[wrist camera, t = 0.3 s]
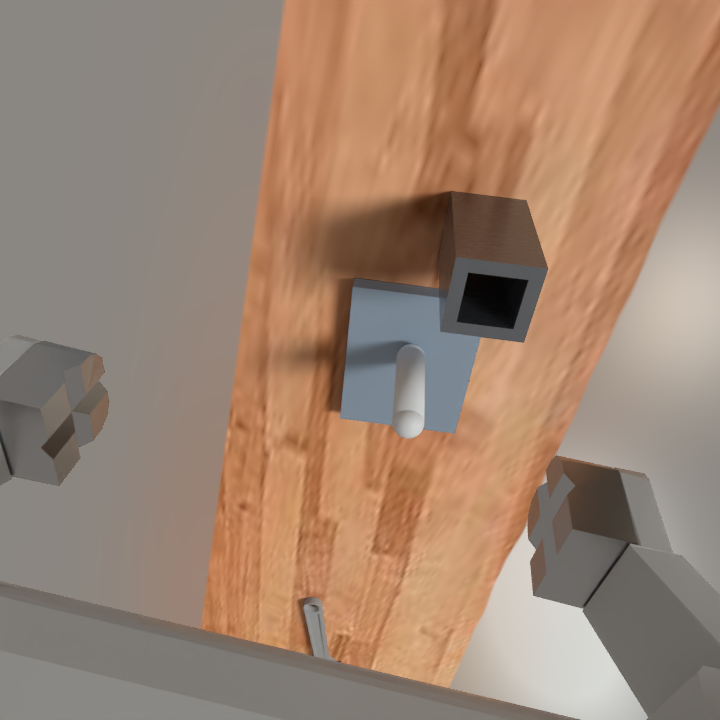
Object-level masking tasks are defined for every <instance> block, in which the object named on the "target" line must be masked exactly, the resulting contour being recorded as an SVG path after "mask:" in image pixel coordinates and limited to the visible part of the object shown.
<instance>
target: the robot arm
mask: <svg viewBox="0 0 720 720" xmlns="http://www.w3.org/2000/svg"><path fill="white" fill-rule="evenodd" d="M104 373H105V370H104V365H103V360H102V357H100V356H99V355H97V354H95V353H91V352H87V351H83V350H79V349H75V348H71V347H67V346H63V345H59V344H55V343H51V342H47V341H40V340H36V339H32V338H28V337H24V336H20V335H15V336H11V337H8V338H7V339H5V340H4V341H3V342H2V343H1V344H0V485H2V484H4V483H5V482H7V481H9V480H11V479H12V477H11V476H13V477H18V478H23V479H28V480H32V481H37V482H42V483H47V484H52V485H57V486H60V484H61V483H62V482H63V480H64V479H65V478H66V477H67V475H68V474H69V473H70V471H71V470H72V468H73V467H74V466H75V465H76V463H77V462H78V461H79V459H80V453H79V447H81V446H83V445H85V444H87V443H89V442H91V441H93V440H94V439H95V438H96V436H97V435H98V434H99V432H100V431H101V430H102V427H103V425H104V422H105V420H106V417H107V415H108V407H109V398H108V391H107V390H106V389H105V387H104V386H103V385H102V384H101V383H100V382H99V379H100V377H101V376H102V375H103V374H104ZM546 475H547V483H545V484H543V485H541V486H539V487H537V490H536V492H535V494H534V496H533V498H532V501H531V505H530V509H529V514H528V539H529V541H530V542H531V543H532V545H533V546H534V547H535V549H536V551H535V553H534V555H533V557H532V559H531V561H530V565H531V576H532V587H533V595H534V596H537V597H541V598H544V599H548V600H552V601H556V602H560V603H564V604H568V605H571V606H575V607H579V608H583V613H584V614H585V616H586V617H587V619H588V620H589V622H590V624H591V625H592V627H593V628H594V630H595V632H596V633H597V635H598V637H599V638H600V640H601V641H602V643H603V645H604V646H605V648H606V650H607V651H608V653H609V654H610V656H611V657H612V659H613V661H614V662H615V664H616V666H617V667H618V669H619V671H620V672H621V674H622V675H623V677H624V679H625V680H626V682H627V683H628V685H629V687H630V688H631V690H632V691H633V693H634V695H635V696H636V698H637V699H638V701H639V702H640V704H641V706H642V707H643V709H644V711H645V712H646V714H647V716H648V717H649V718H648V719H647V720H720V594H719V593H718V592H717V591H716V590H715V589H714V588H713V587H712V586H711V585H710V584H709V583H708V582H707V581H706V580H705V579H704V578H703V577H702V576H701V575H700V574H699V573H698V571H696V570H695V568H694V567H693V566H692V565H691V564H690V563H689V562H688V561H687V560H686V559H685V558H684V557H683V556H681V555H677V554H673V551H672V548H671V545H670V542H669V539H668V536H667V533H666V530H665V527H664V523H663V520H662V517H661V514H660V511H659V508H658V505H657V502H656V499H655V496H654V493H653V490H652V487H651V484H650V480H649V478H648V477H647V476H646V475H645V474H644V473H639V472H634V471H629V470H625V469H619V468H612V467H608V466H603V465H598V464H594V463H589V462H584V461H580V460H575V459H571V458H566V457H561V456H557V455H556V456H555V457H554V458H553V459H552V460H551V462H550V464H549V466H548V467H547V469H546ZM0 720H579V719H575V718H571V717H567V716H563V715H558V714H554V713H550V712H546V711H542V710H537V709H533V708H529V707H525V706H520V705H516V704H512V703H508V702H504V701H500V700H496V699H492V698H487V697H483V696H478V695H475V694H470V693H466V692H462V691H458V690H454V689H450V688H445V687H441V686H437V685H433V684H429V683H424V682H420V681H416V680H412V679H408V678H403V677H399V676H395V675H391V674H387V673H383V672H378V671H374V670H370V669H366V668H362V667H357V666H353V665H349V664H345V663H341V662H336V661H332V660H328V659H324V658H320V657H315V656H311V655H307V654H303V653H299V652H294V651H290V650H286V649H282V648H278V647H274V646H269V645H265V644H261V643H257V642H253V641H248V640H244V639H240V638H236V637H232V636H227V635H223V634H219V633H215V632H211V631H206V630H202V629H198V628H194V627H190V626H186V625H181V624H177V623H173V622H169V621H165V620H160V619H156V618H152V617H148V616H143V615H139V614H135V613H131V612H127V611H123V610H118V609H114V608H110V607H106V606H102V605H98V604H93V603H89V602H85V601H81V600H76V599H73V598H68V597H64V596H60V595H56V594H51V593H47V592H43V591H39V590H35V589H31V588H27V587H22V586H18V585H14V584H9V583H5V582H1V581H0Z"/></svg>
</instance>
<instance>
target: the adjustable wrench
mask: <svg viewBox="0 0 720 720" xmlns="http://www.w3.org/2000/svg"><path fill="white" fill-rule="evenodd" d="M310 604H313V605H310ZM303 608H304V613H305V617H306V622H307V626H308V631H309V635H310V640H311V644H312V649H313V653H314V656H315V657H320V658H324V659H328V660H332V661H336V662H338V661H337V660H335V659H334V658H332V657H331V656H330V654H329V652H328V645H327V637H326V630H325V622H324V614H323V607H322V602H321V600H320V599H318V598H315V597H309V598H306V599H305V601H304V607H303ZM341 663H342V662H341Z"/></svg>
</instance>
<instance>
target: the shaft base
mask: <svg viewBox="0 0 720 720" xmlns="http://www.w3.org/2000/svg"><path fill="white" fill-rule="evenodd" d="M480 338H481V337H477V336H469V335H461V334H453V333H445V332H440V313H439V289H437V288H429V287H422V286H414V285H406V284H398V283H390V282H382V281H374V280H366V279H359V278H354V283H353V289H352V300H351V310H350V320H349V331H348V341H347V352H346V362H345V372H344V383H343V393H342V404H341V414H340V418H341V419H349V420H357V421H364V422H372V423H379V424H387V425H392V426H393V429H394V431H395V432H396V433H397V434H398V435H399V436H401V437H403V438H414V437H416V436H418V435H419V434H420V433H421V431H422V430H423V429H425V430H433V431H440V432H448V433H455V431H456V427H457V423H458V420H459V416H460V412H461V408H462V405H463V401H464V397H465V394H466V390H467V386H468V383H469V379H470V375H471V371H472V368H473V364H474V360H475V357H476V353H477V349H478V346H479V342H480Z"/></svg>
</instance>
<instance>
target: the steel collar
mask: <svg viewBox="0 0 720 720" xmlns="http://www.w3.org/2000/svg"><path fill="white" fill-rule="evenodd" d="M438 269H439V313H440V332H445V333H453V334H461V335H469V336H477V337H484V338H492V339H500V340H508V341H516V342H523V343H524V341H525V338H526V335H527V331H528V328H529V325H530V322H531V319H532V316H533V313H534V310H535V307H536V304H537V301H538V298H539V295H540V292H541V289H542V286H543V283H544V280H545V277H546V274H547V271H548V267H547V263H546V260H545V257H544V254H543V251H542V248H541V245H540V242H539V238H538V235H537V232H536V229H535V226H534V223H533V220H532V216H531V213H530V210H529V207H528V204H527V201H526V200H519V199H511V198H503V197H495V196H487V195H478V194H470V193H462V192H454V191H451V195H450V200H449V205H448V210H447V216H446V221H445V226H444V231H443V236H442V241H441V246H440V252H439V257H438Z"/></svg>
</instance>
